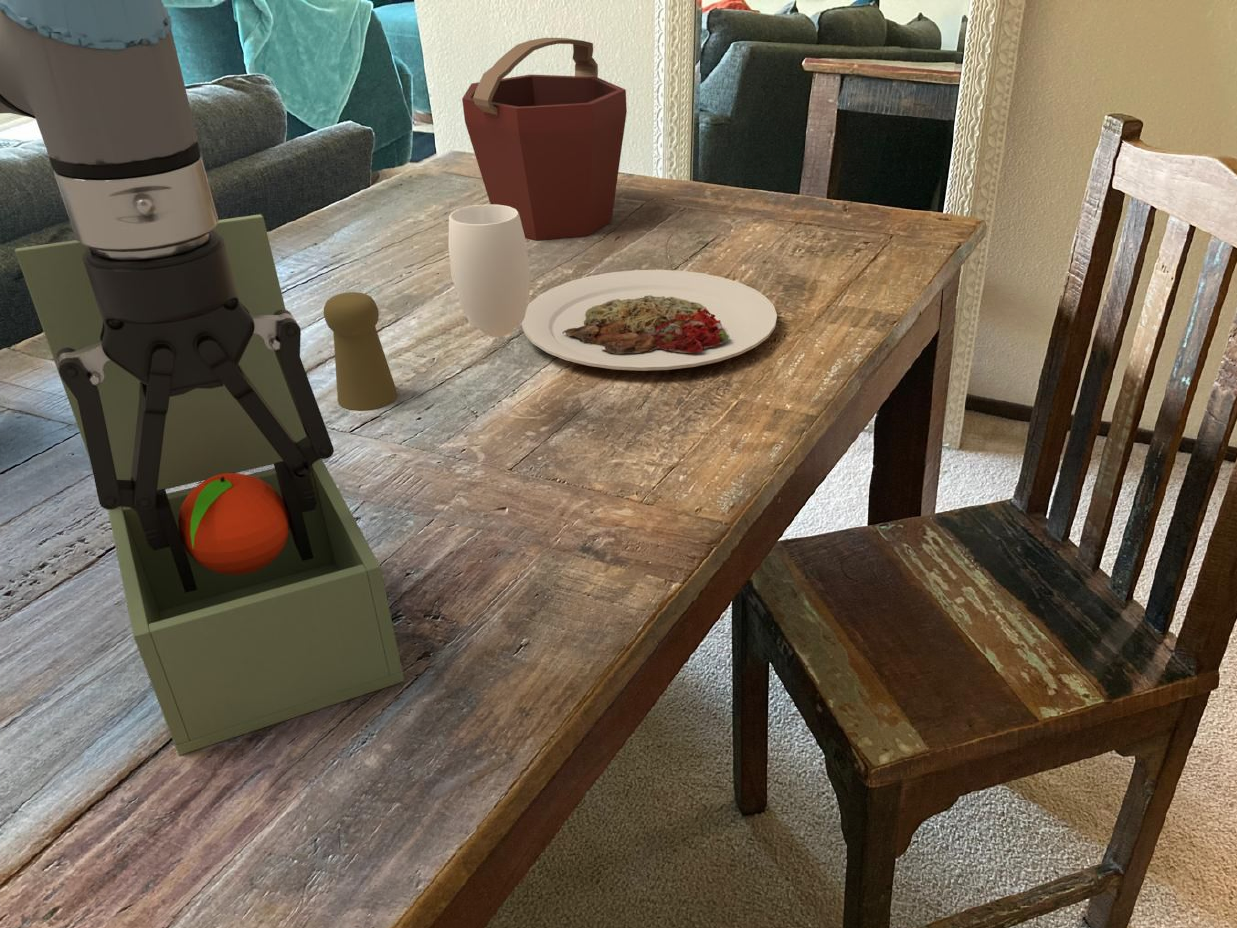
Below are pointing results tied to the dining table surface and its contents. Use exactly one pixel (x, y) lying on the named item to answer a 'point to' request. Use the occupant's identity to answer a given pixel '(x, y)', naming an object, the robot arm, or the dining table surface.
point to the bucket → (548, 142)
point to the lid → (196, 421)
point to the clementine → (234, 524)
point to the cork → (358, 353)
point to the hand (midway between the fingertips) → (247, 564)
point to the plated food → (649, 320)
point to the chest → (259, 624)
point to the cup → (490, 266)
